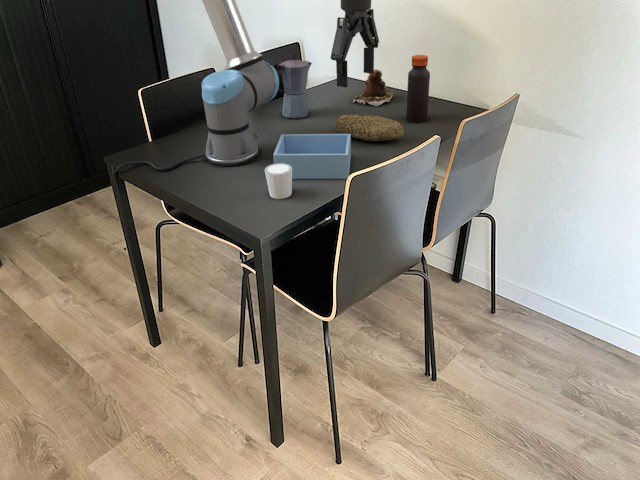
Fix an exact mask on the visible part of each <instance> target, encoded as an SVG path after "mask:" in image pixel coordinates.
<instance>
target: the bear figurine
mask: <svg viewBox="0 0 640 480" xmlns="http://www.w3.org/2000/svg"><path fill="white" fill-rule="evenodd" d="M382 77H383V72H382V71H381V70H380V69H374V73H373V74H370V73H368V75H367V79H366V80H365V81H364V83H365V85H366V87H364V88H363V91H362V93H360V95H359V94H358V95H356V96H354V97H353V99H352V103H355V102H357V103H358V104H360V105H364V106H365V104H369V105H371V106H375V107H379V106H380V105H382V104H383V103H385V102H386V103H389V102H390V101H391V100H392V98H393V97H394V93H393V92H389V90H386V89H387V85H386V82H385V81H384V80H383V78H382Z"/></svg>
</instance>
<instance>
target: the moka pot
mask: <svg viewBox="0 0 640 480" xmlns="http://www.w3.org/2000/svg"><path fill="white" fill-rule="evenodd" d="M291 57H292V59H288V60H285V61H282V62H280V63H279V64H276V63H275V64H274V65H272V66H273V67H274V68H275V70H276V71H281V76H282V83H283V88H284V89H280V88H279V89H278V91H277V94H283V101H282V110H281V114H282V116H283V118H289V119H301V118H306V117H307V116H308V115H309V107H308V101H307V93H306V92H307V91H306V90H307V89H306V88H307V85H308V76H309V71H310V68H311V65H313V63H312V62H311V61H309V60H300V59H297V57H298V56H297V55H296V54H293V55H291ZM283 92H284V93H283Z"/></svg>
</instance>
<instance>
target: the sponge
mask: <svg viewBox="0 0 640 480" xmlns="http://www.w3.org/2000/svg"><path fill="white" fill-rule="evenodd" d="M334 126H335V127H334V128H335V129H336V131H337V134H351V138H353V139H357V140H363V141H368V142H369V141H370V142H384V141H393V140H396V139H400V138H403V136H404V133H405V132H404V128H403V125H402V124H401V123H400V122H399V121H396V120H394V119H390V118H387V117H383V116H378V115H359V114H356V113H354V114H342V115H341V116H339V118H338V119H336V120H335V125H334Z"/></svg>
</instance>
